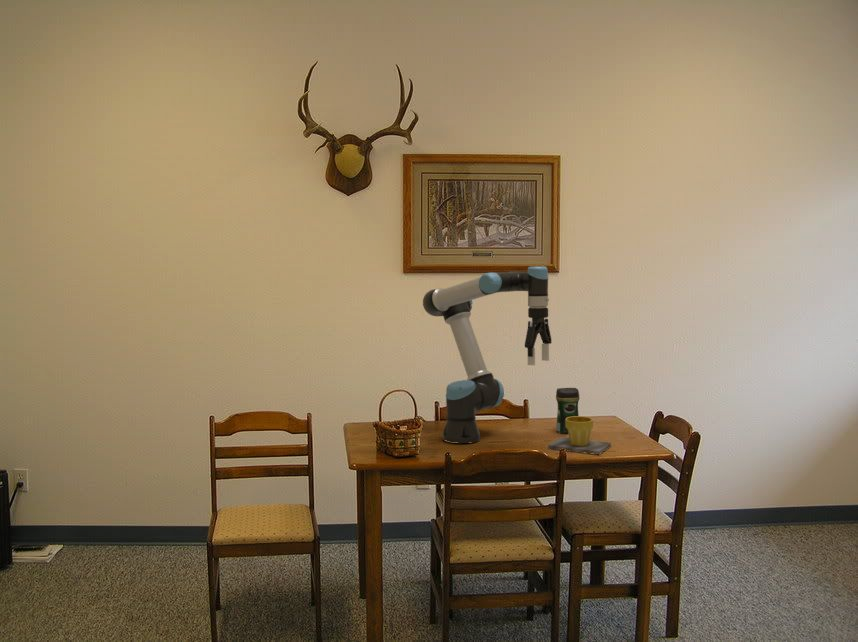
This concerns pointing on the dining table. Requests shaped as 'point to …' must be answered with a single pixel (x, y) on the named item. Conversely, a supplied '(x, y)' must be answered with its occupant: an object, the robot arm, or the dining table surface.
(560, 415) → the coffee jar
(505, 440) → the dining table surface
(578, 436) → the plant pot
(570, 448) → the trivet board
